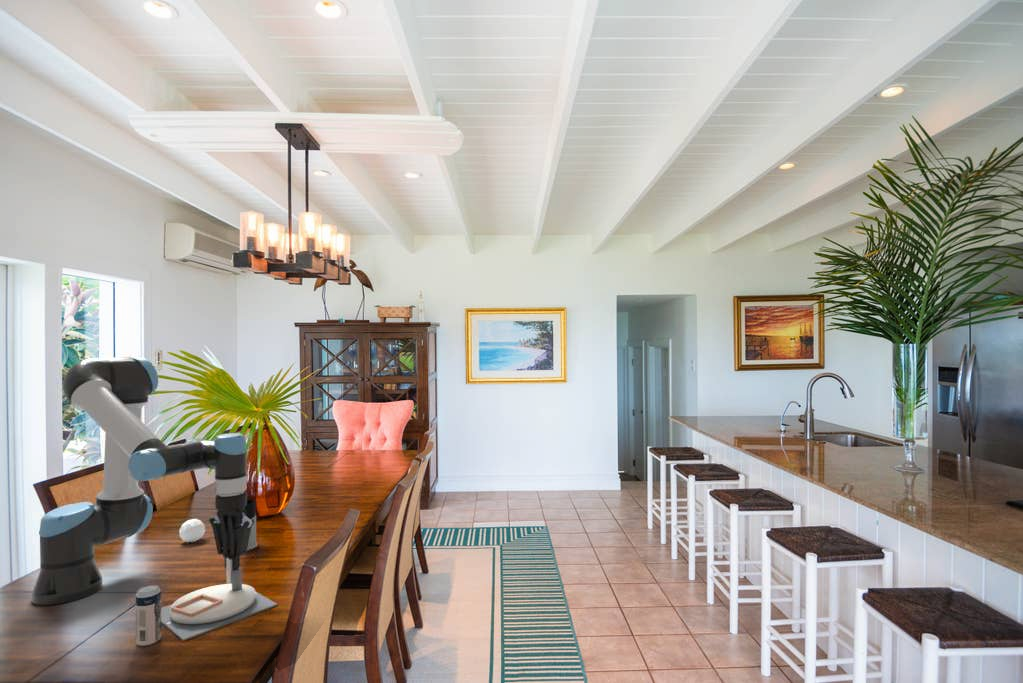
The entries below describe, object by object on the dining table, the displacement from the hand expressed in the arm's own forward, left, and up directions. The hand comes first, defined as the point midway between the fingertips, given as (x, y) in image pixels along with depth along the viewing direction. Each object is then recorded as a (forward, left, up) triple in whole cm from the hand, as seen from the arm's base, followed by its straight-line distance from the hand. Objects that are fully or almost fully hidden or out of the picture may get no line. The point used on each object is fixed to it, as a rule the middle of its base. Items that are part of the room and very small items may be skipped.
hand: (232, 580), depth 147 cm
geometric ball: (+11, +58, -5) cm, 59 cm away
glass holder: (+18, +35, -5) cm, 39 cm away
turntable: (-6, -3, -4) cm, 8 cm away
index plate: (-6, -3, -4) cm, 8 cm away
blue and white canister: (-22, -8, -5) cm, 24 cm away
